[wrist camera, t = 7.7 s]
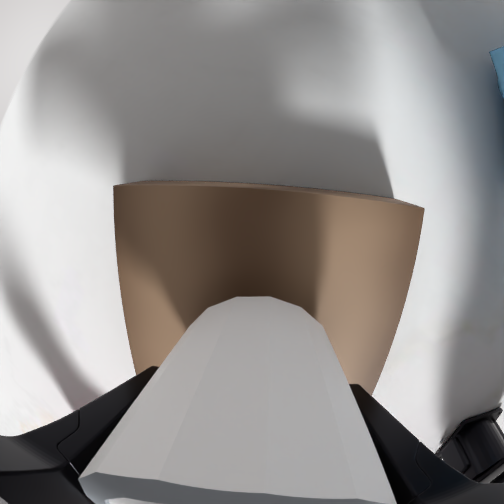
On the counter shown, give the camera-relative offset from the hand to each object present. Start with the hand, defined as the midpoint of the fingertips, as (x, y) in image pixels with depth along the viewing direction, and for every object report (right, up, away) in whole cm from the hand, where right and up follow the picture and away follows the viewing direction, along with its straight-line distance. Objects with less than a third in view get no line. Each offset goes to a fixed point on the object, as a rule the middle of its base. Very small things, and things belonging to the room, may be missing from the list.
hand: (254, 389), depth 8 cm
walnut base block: (0, +2, +6) cm, 6 cm away
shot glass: (0, 0, +2) cm, 2 cm away
